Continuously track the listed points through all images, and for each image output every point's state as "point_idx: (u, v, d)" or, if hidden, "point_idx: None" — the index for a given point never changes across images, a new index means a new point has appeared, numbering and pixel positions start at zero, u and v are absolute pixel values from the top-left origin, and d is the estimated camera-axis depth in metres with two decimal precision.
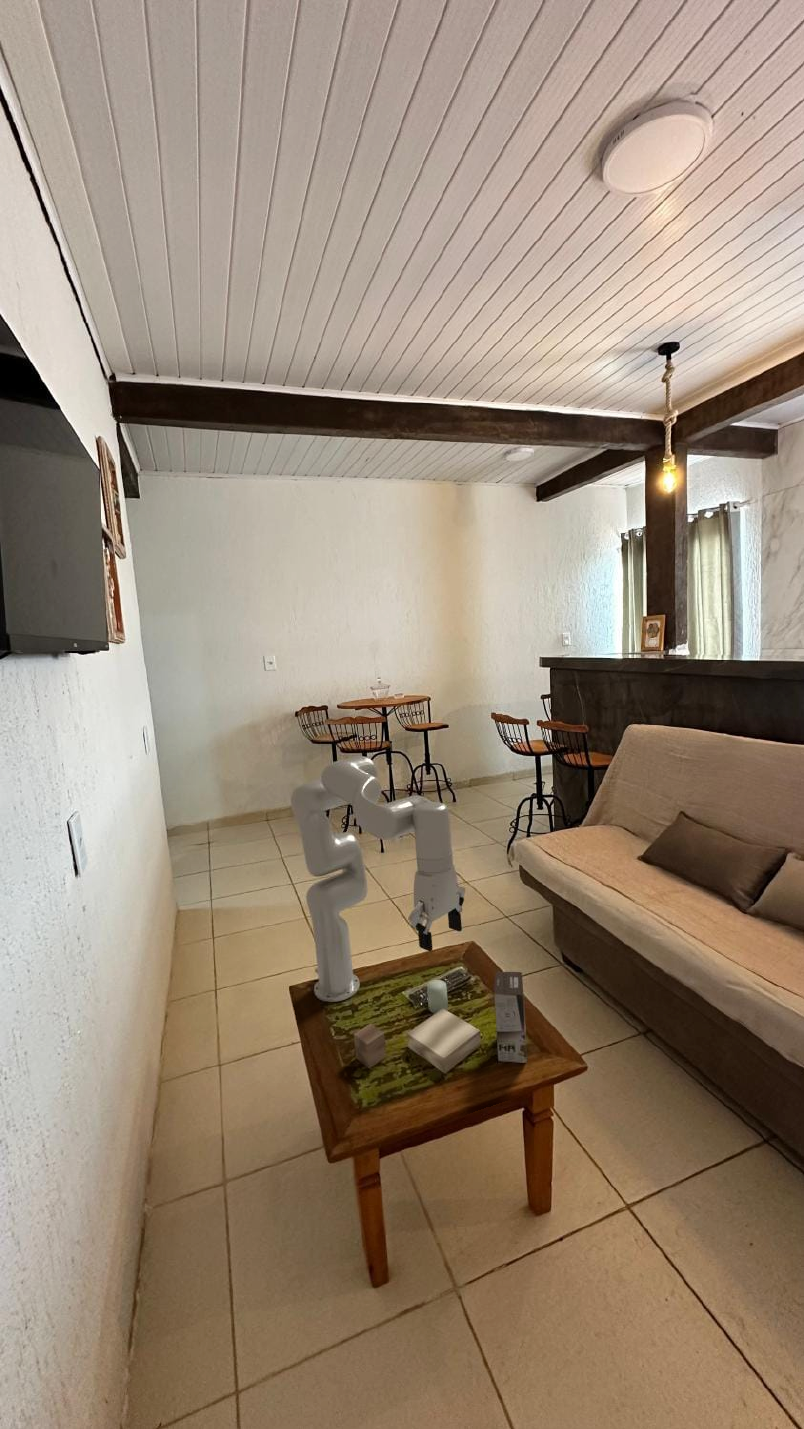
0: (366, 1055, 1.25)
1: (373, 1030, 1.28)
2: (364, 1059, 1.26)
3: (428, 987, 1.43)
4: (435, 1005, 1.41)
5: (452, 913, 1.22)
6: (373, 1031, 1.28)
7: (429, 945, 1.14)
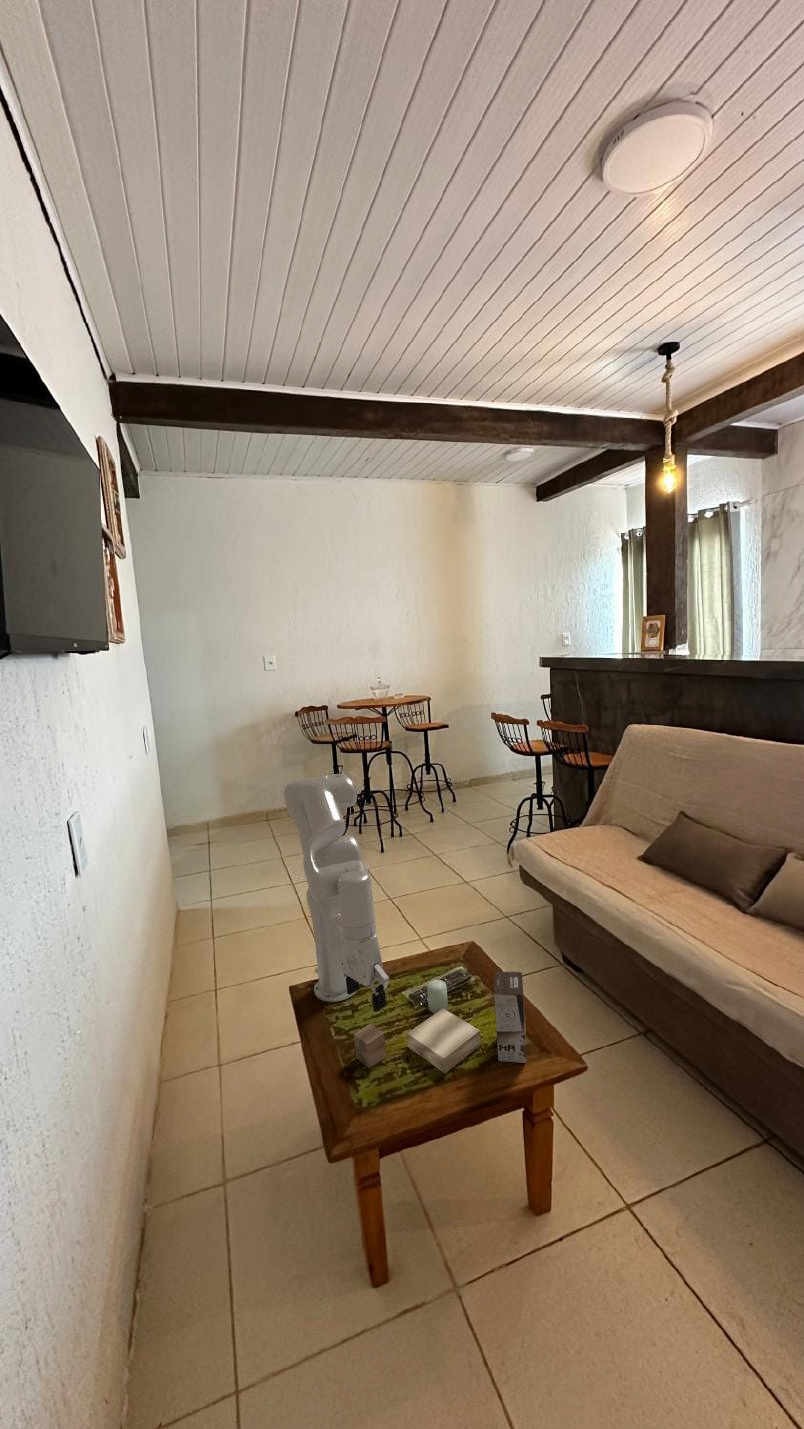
0: (366, 1055, 1.25)
1: (373, 1030, 1.28)
2: (364, 1059, 1.26)
3: (428, 987, 1.43)
4: (435, 1005, 1.41)
5: None
6: (373, 1031, 1.28)
7: (384, 1000, 1.23)
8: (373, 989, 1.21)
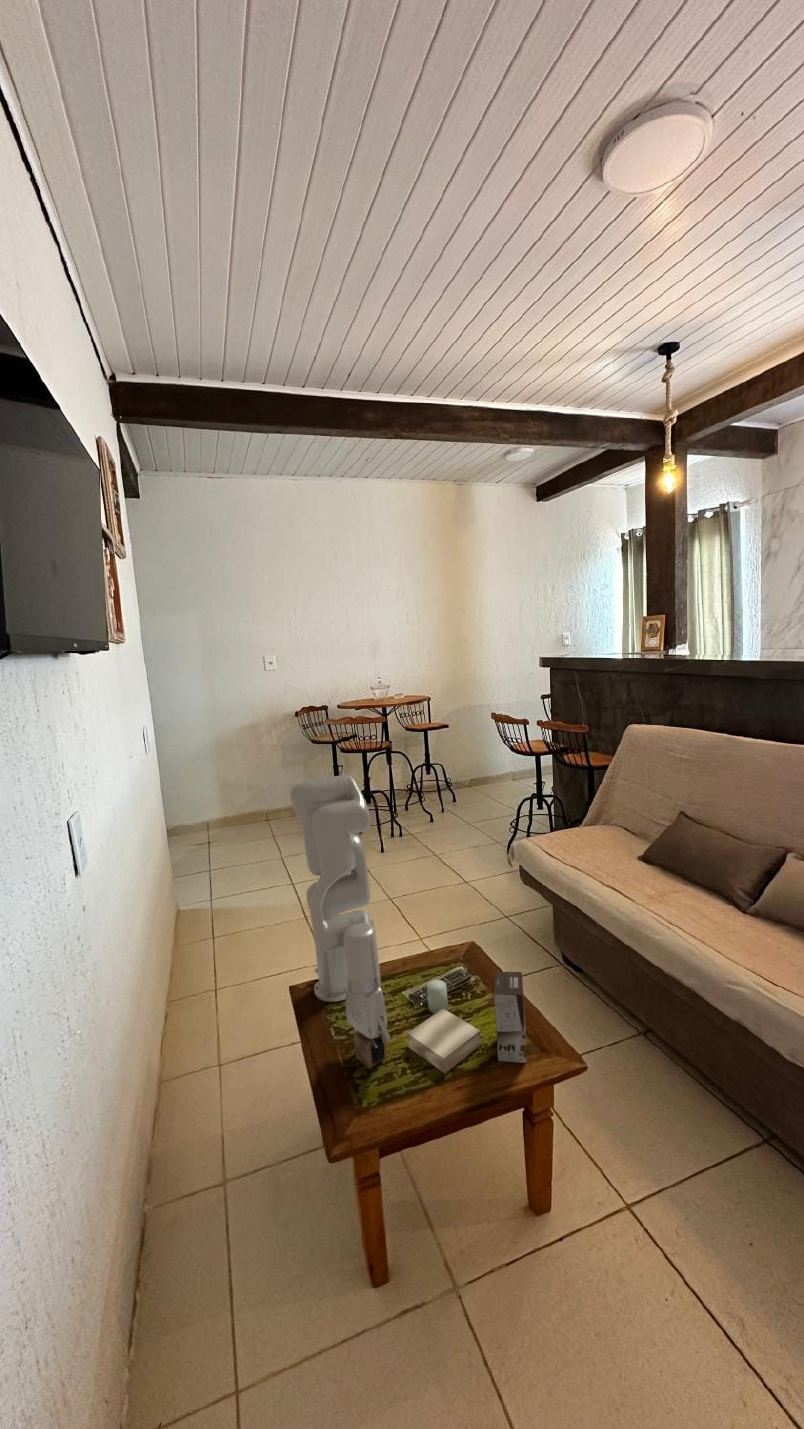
0: (366, 1055, 1.25)
1: None
2: (364, 1059, 1.26)
3: (428, 987, 1.43)
4: (435, 1005, 1.41)
5: None
6: None
7: (383, 1052, 1.27)
8: (373, 1042, 1.24)
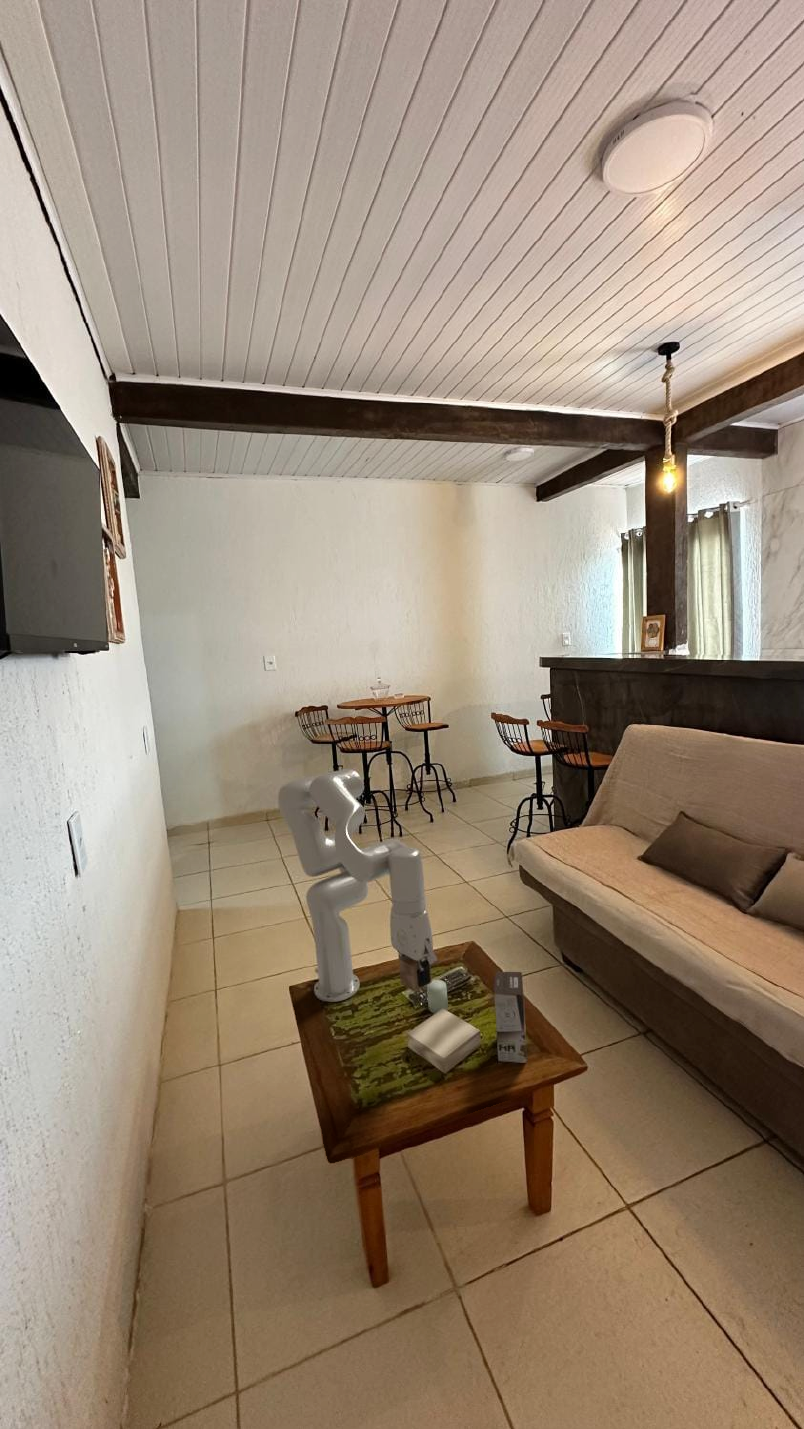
0: (412, 978, 1.24)
1: None
2: (409, 983, 1.25)
3: (428, 987, 1.43)
4: (435, 1005, 1.41)
5: None
6: None
7: (429, 976, 1.25)
8: (419, 965, 1.23)
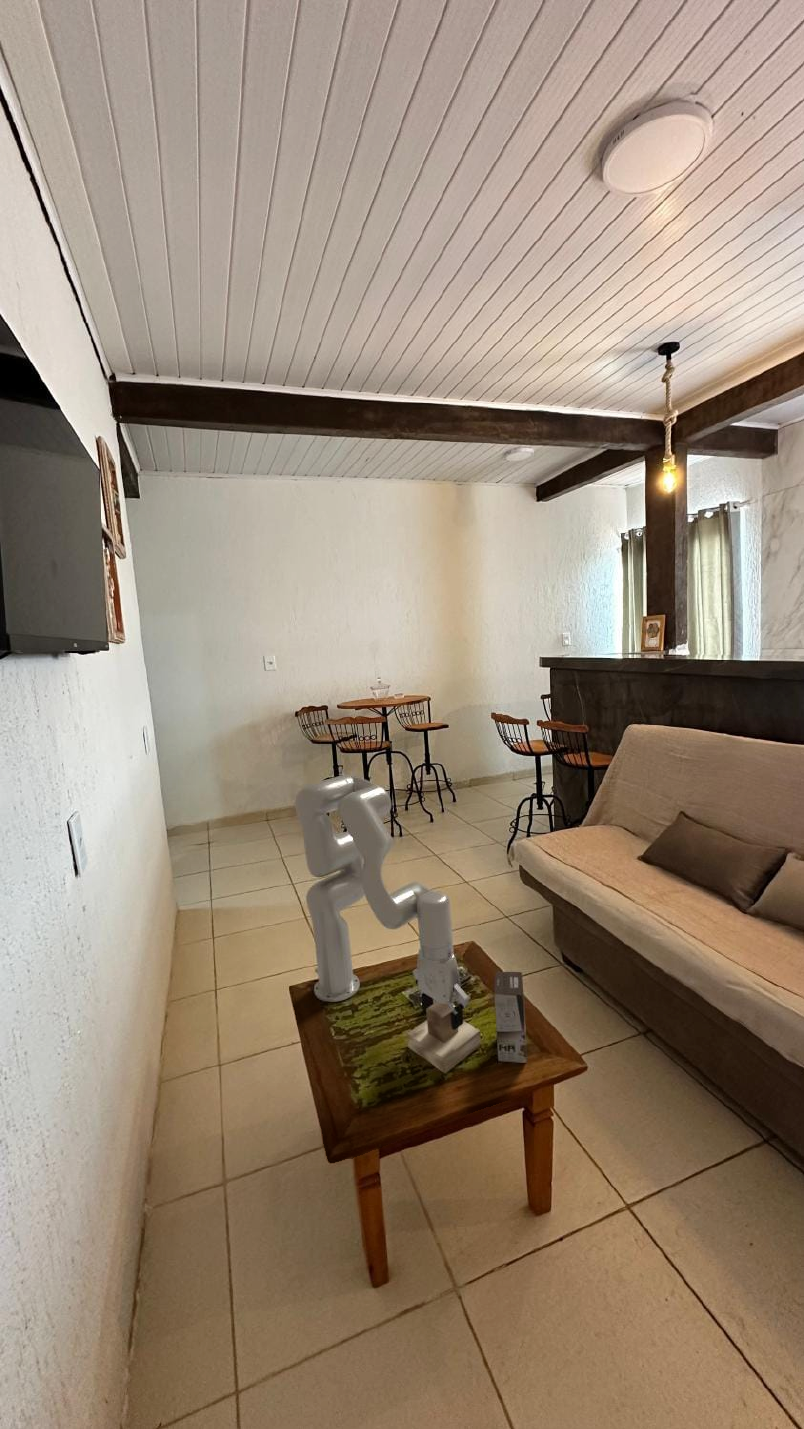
0: (440, 1029, 1.26)
1: (445, 1005, 1.30)
2: (437, 1033, 1.27)
3: None
4: None
5: None
6: (445, 1006, 1.29)
7: None
8: (452, 1008, 1.24)
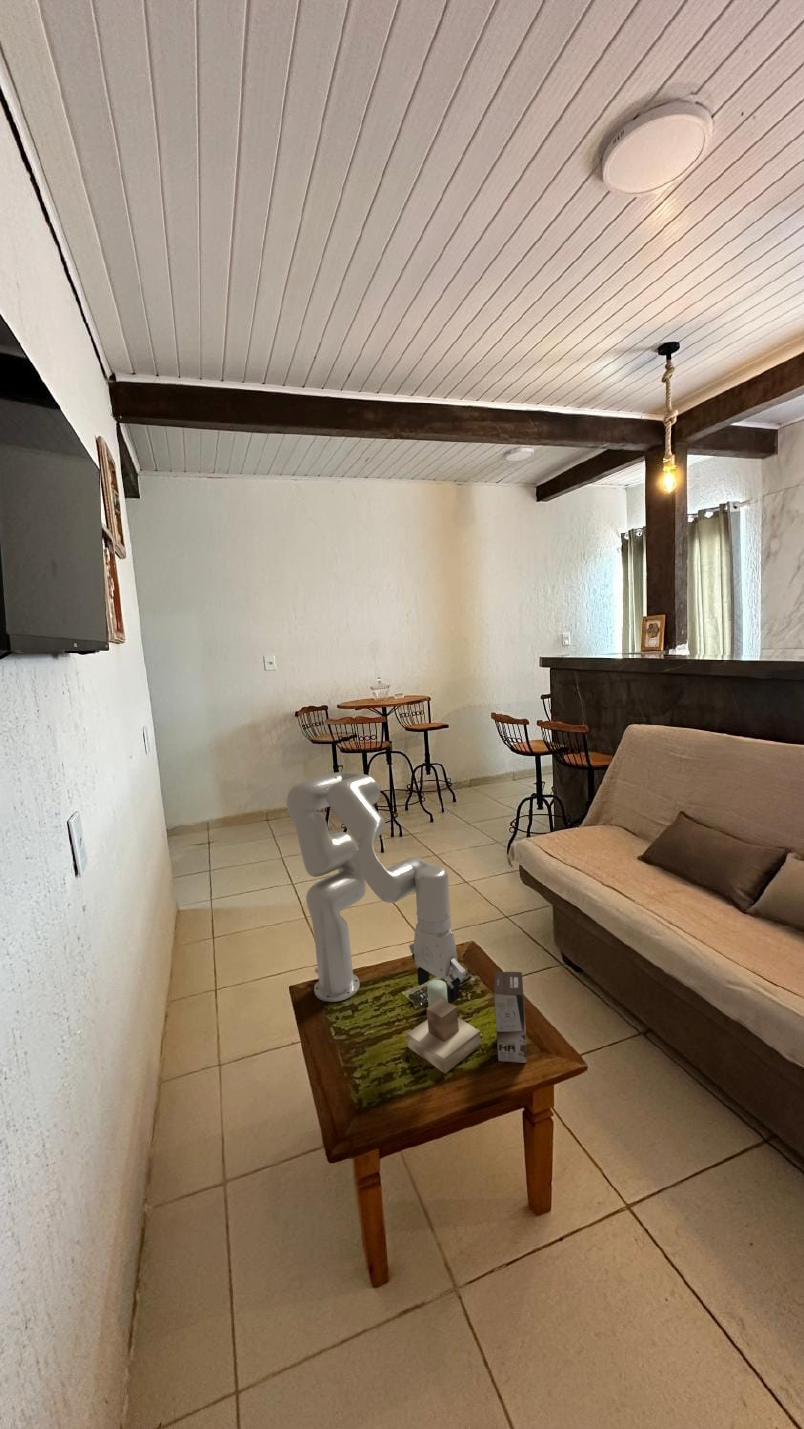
0: (440, 1028, 1.26)
1: (445, 1004, 1.30)
2: (438, 1032, 1.27)
3: (428, 987, 1.43)
4: None
5: (423, 968, 1.31)
6: (446, 1005, 1.30)
7: None
8: (449, 982, 1.23)
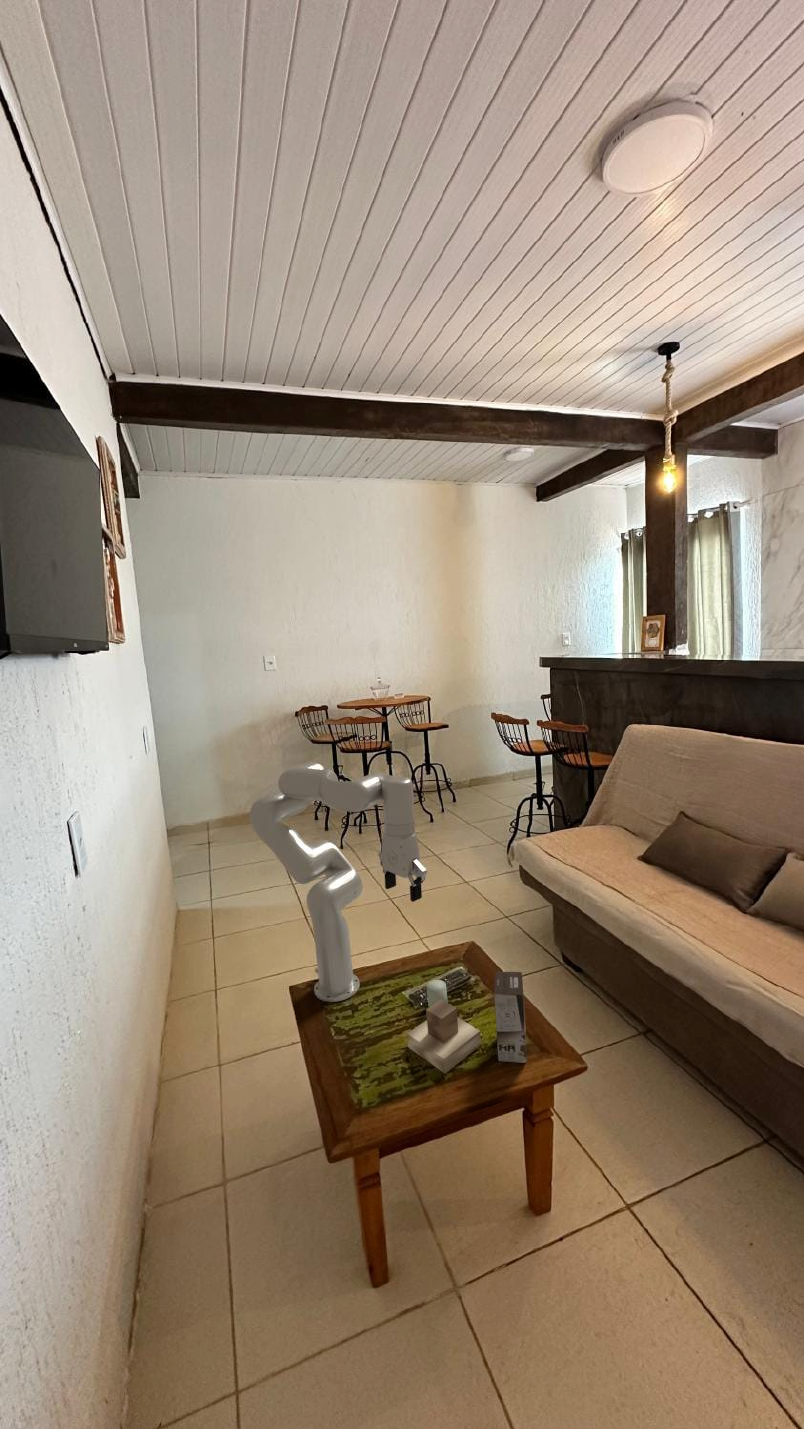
0: (440, 1030, 1.26)
1: (445, 1006, 1.29)
2: (437, 1034, 1.27)
3: (428, 987, 1.43)
4: None
5: (390, 873, 1.42)
6: (445, 1006, 1.29)
7: (420, 893, 1.36)
8: (411, 881, 1.33)
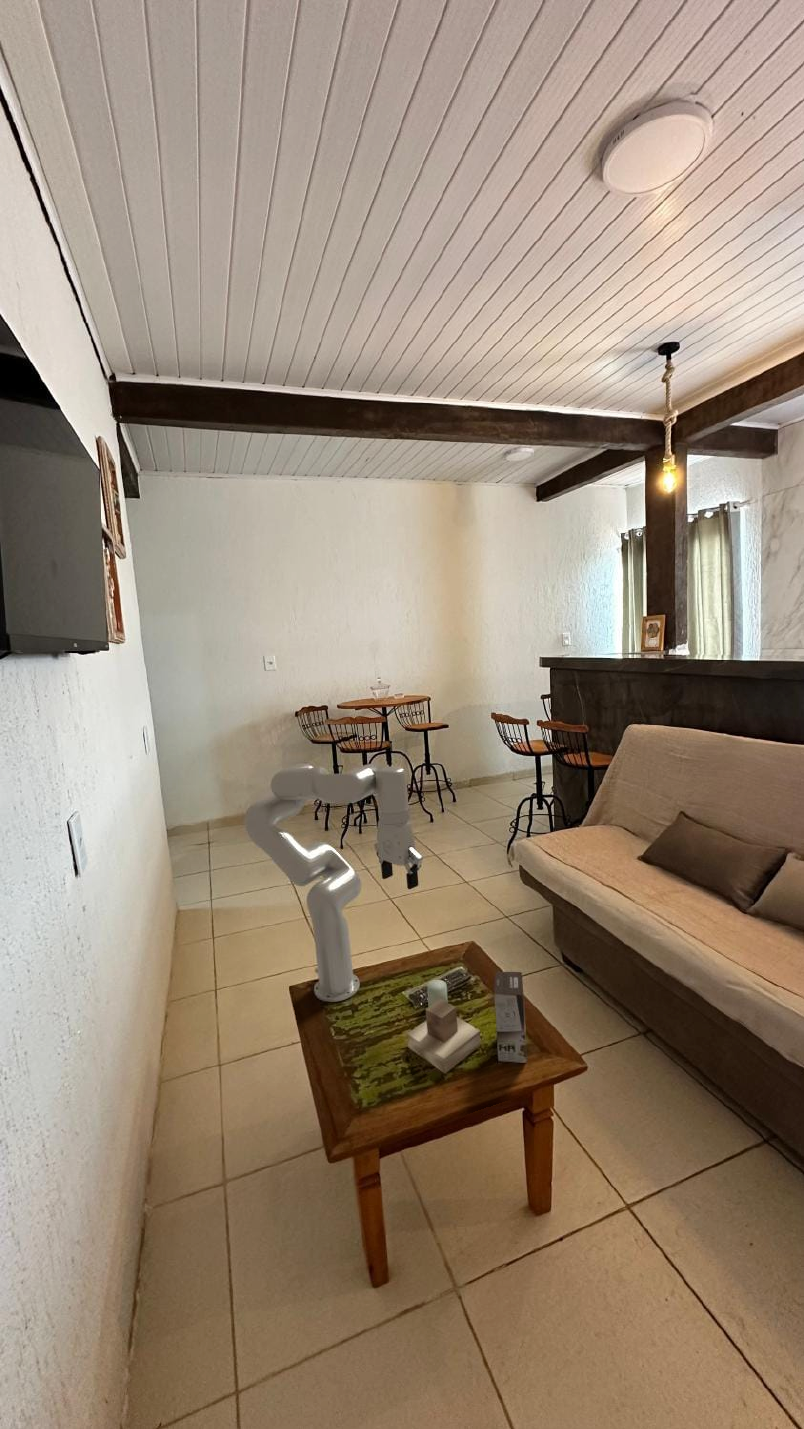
0: (440, 1029, 1.26)
1: (444, 1005, 1.30)
2: (437, 1033, 1.27)
3: (428, 986, 1.43)
4: None
5: (386, 863, 1.43)
6: (444, 1006, 1.29)
7: None
8: (407, 869, 1.35)
